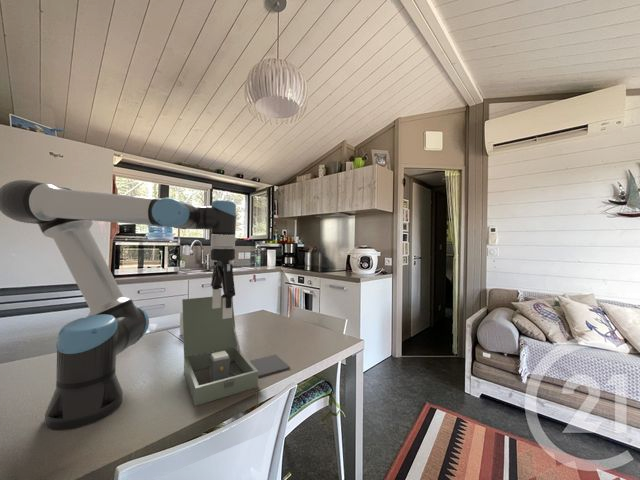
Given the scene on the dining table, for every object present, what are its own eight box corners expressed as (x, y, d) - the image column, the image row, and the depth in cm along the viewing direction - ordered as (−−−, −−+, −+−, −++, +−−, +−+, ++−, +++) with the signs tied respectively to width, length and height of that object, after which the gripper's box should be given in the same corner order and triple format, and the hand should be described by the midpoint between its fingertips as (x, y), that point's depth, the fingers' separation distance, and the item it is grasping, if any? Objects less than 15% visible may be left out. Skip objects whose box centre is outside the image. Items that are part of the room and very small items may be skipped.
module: (213, 385, 82) (213, 359, 82) (209, 377, 87) (210, 353, 87) (229, 380, 85) (230, 356, 85) (224, 373, 89) (225, 350, 89)
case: (195, 407, 71) (197, 322, 71) (180, 361, 97) (182, 299, 97) (258, 387, 82) (260, 313, 82) (229, 350, 107) (231, 294, 107)
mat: (258, 377, 87) (258, 375, 87) (245, 363, 97) (246, 361, 97) (290, 368, 94) (290, 366, 94) (275, 355, 104) (275, 354, 104)
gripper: (247, 249, 78) (245, 321, 78) (224, 246, 98) (223, 303, 98) (221, 249, 74) (219, 325, 74) (203, 246, 94) (201, 305, 94)
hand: (221, 312), depth 86 cm, fingers open, 13 cm apart
